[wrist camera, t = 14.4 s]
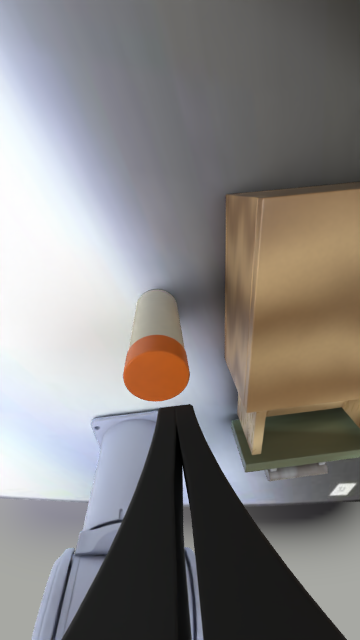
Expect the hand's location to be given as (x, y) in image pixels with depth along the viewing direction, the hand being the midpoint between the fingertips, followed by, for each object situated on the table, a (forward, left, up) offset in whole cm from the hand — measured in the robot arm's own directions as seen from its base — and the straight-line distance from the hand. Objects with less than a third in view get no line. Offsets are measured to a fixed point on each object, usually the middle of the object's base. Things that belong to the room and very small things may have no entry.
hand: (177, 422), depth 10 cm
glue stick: (0, +1, -10) cm, 10 cm away
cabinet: (+1, -11, -10) cm, 15 cm away
